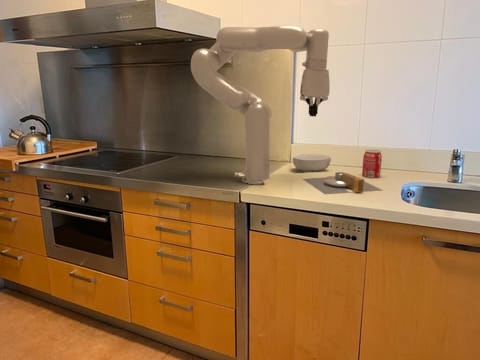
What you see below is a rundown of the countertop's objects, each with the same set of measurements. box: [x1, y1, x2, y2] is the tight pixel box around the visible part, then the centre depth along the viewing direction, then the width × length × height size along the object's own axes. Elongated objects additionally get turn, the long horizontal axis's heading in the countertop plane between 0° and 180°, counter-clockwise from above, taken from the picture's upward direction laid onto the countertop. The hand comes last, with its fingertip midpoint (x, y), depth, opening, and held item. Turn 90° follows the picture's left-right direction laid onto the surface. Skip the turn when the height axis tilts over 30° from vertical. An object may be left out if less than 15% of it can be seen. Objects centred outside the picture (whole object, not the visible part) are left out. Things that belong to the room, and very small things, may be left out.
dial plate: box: [302, 177, 384, 195], centre depth 135 cm, size 22×22×2 cm
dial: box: [323, 171, 365, 193], centre depth 131 cm, size 18×12×4 cm, turn 17°
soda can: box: [361, 149, 383, 179], centre depth 145 cm, size 7×7×12 cm
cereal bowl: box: [292, 152, 332, 174], centre depth 162 cm, size 17×17×7 cm
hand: (312, 116), depth 136 cm, fingers closed
